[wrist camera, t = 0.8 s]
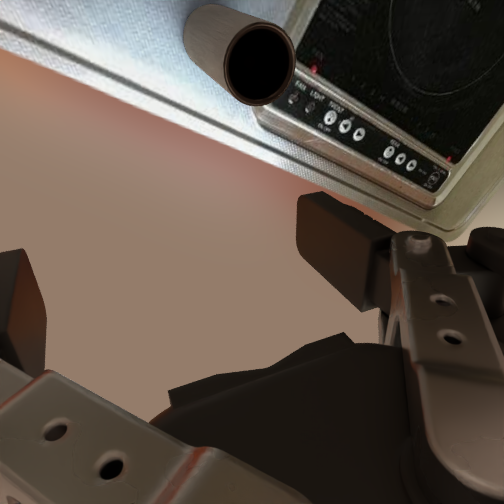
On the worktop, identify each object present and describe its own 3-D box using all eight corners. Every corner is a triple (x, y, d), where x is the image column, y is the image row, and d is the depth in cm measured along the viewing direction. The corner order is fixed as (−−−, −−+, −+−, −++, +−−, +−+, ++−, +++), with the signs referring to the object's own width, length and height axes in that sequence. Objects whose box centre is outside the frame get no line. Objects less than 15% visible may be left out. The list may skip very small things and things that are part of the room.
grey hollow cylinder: (201, -12, 28) (251, 2, 21) (250, 27, 31) (311, 51, 23) (171, 49, 30) (208, 82, 22) (220, 80, 33) (268, 120, 25)
